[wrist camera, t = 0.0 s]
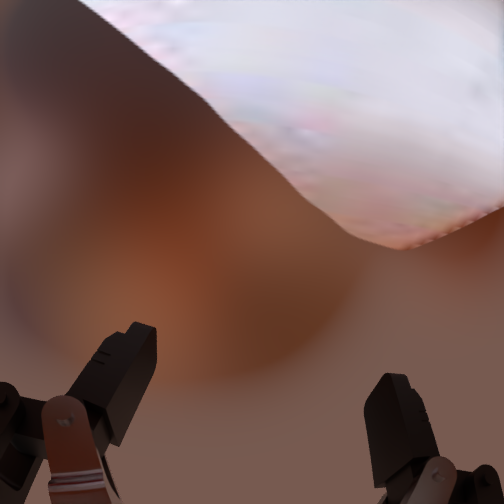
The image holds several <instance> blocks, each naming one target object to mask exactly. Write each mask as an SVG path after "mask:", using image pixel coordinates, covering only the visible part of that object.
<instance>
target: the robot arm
mask: <svg viewBox="0 0 504 504" xmlns="http://www.w3.org/2000/svg"><path fill="white" fill-rule="evenodd" d="M156 333H157V332H156V328H155V327H151V326H148V325H145V324H142V323H139V322H133V323H132V324H131V326H130V327H129V329H128V330H127V332H126V333H125V334H124V333H121V332H118V331H117V332H116V333H114V334H112V335H111V336H109V337H107V338H106V339H105V340H104V341H103V342H102V344H101V345H100V347H99V348H98V349H97V352H95V354H94V355H93V356H92V358H91V360H90V361H89V362H88V363H87V365H86V366H85V368H84V369H83V371H82V372H81V373H80V375H79V376H78V378H77V379H76V381H75V382H74V384H73V385H72V387H71V388H70V390H69V391H68V392H67V393H66V394H65V395H60V396H56V397H53V398H51V399H50V400H48V401H40V400H35V399H31V398H26V397H21V396H20V395H19V393H18V391H17V390H16V388H15V387H14V386H12V385H11V384H9V383H7V382H0V504H24V502H25V499H26V497H27V495H28V493H29V490H30V488H31V486H32V483H33V481H34V479H35V477H36V474H37V472H38V470H39V468H40V466H41V463H42V461H43V459H47V460H48V463H49V467H50V472H51V480H50V481H49V483H48V490H49V496H50V499H51V503H52V504H124V503H123V501H122V499H121V497H120V495H119V492H118V489H117V486H116V484H115V481H114V478H113V476H112V473H111V470H110V467H109V464H108V461H107V458H106V455H105V451H106V449H107V447H108V445H109V443H111V444H113V445H116V446H118V447H119V446H120V444H121V442H122V440H123V438H124V435H125V433H126V431H127V429H128V427H129V424H130V422H131V420H132V418H133V416H134V414H135V411H136V410H137V407H138V405H139V403H140V401H141V399H142V397H143V395H144V393H145V391H146V389H147V386H148V384H149V382H150V380H151V378H152V376H153V374H154V371H155V368H156V363H157V335H156ZM364 418H365V424H366V430H367V436H368V443H369V448H370V456H371V463H372V471H373V479H374V487H375V488H383V487H386V490H387V493H385V494H384V495H383V496H382V498H381V499H380V501H379V502H378V504H504V496H503V492H502V488H501V484H500V480H499V476H498V474H497V472H496V470H495V469H494V468H493V467H492V466H490V465H481V466H479V467H478V468H477V469H476V470H474V471H473V472H468V471H462V470H456V468H455V466H454V464H453V463H452V462H451V461H450V460H449V459H447V458H445V457H442V456H440V454H439V451H438V447H437V444H436V441H435V437H434V434H433V431H432V428H431V424H430V422H429V418H428V415H427V413H426V409H425V406H424V403H423V401H422V398H421V397H420V396H419V394H418V393H417V392H416V391H415V389H411V386H410V383H409V381H408V378H407V376H406V375H404V374H394V373H385V374H384V375H383V376H382V378H381V379H380V381H379V382H378V384H377V385H376V387H375V388H374V389H373V391H372V392H371V394H370V395H369V397H368V398H367V400H366V403H365V406H364Z"/></svg>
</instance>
